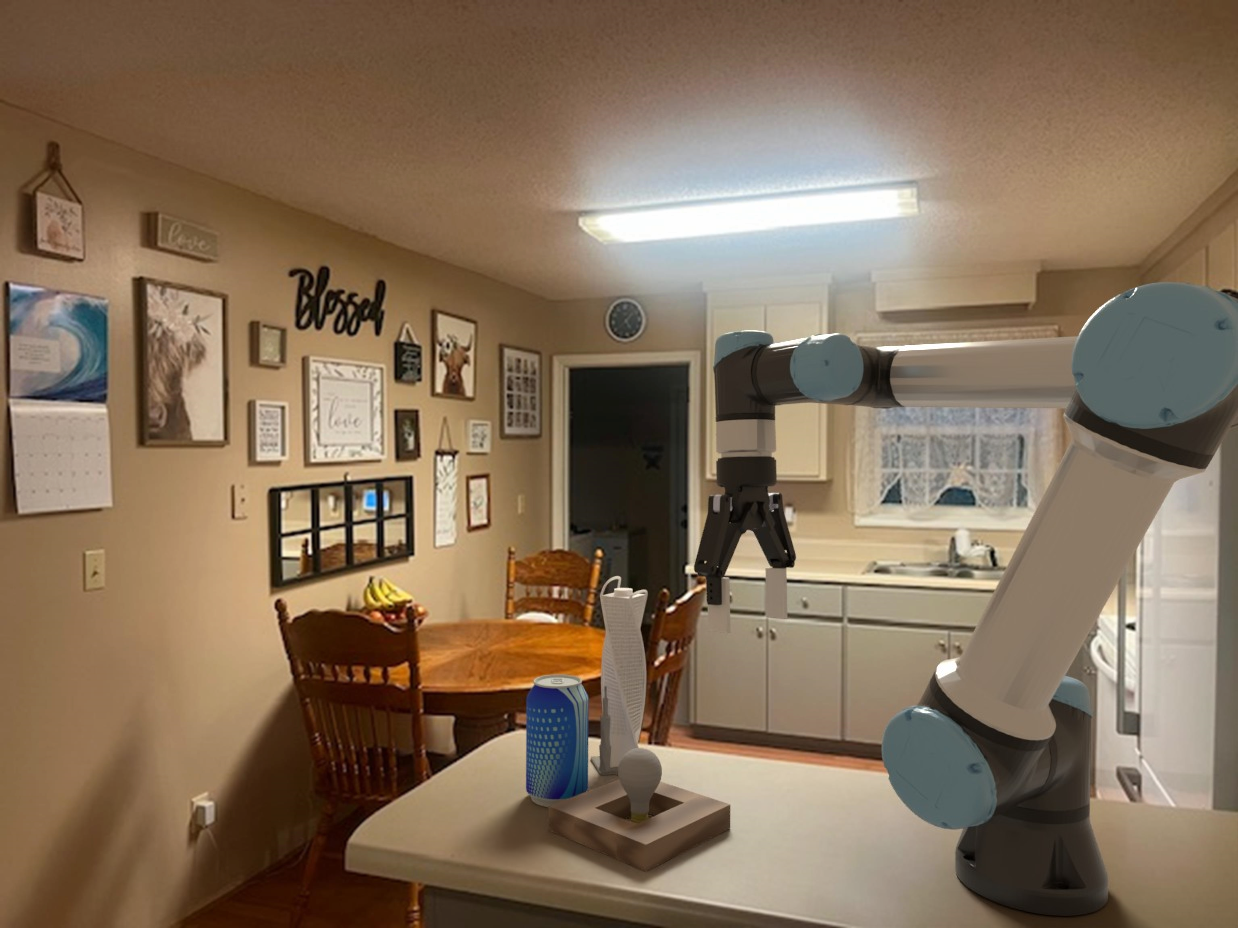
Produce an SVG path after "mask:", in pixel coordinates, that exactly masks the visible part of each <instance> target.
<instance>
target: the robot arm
mask: <svg viewBox="0 0 1238 928" xmlns="http://www.w3.org/2000/svg"><path fill="white" fill-rule="evenodd" d="M713 356H714V358H713V359H714V360H713V366H712V368H713V369H712V370H713V375H714V376H713V377H714V399H715V400H714V401H715V402H714V403H715V428H716V429H715V437H716V438H715V441H716V442H715V444H716V445H715V447H716V448H715V450H716V453H717V454H718V455H719V454H720V457H718V458H717V460H716V462H715V465H716V467H715V468H716V470H715V471H716V473H715V474H716V485H717V486H718V487H719V488H723V489H724V494H710V495H709V496H708V498H707V500H708V501H707V502H708V503H707V504H708V505H707V514H706V519H705V523H704V526H703V531H702V534H701V538H700V542H699V545H698V550H697V554H696V557H695V559H694V560H695V561H694V563H693V564H694V565H693V570H694V573H696V574H697V576H698V577H700V578H701V577H702V578H705V585H706V586H705V589H706V590H705V591H706V592H705V593H706V603H707V632H711V633H720V634H721V633H722V634H731V597H730V596H731V593H730V577H725V575H726V573H727V571H728V568H729V566H730V563H731V561H732V559H733V556H734V554H735V551H736V549H737V546H738V544H739V542H740V540H741V537H742V535H744V534H746V533H747V531H751V532H753V534H754V536H755V538H756V541H757V542H758V545H759V546H760V548H761V551H762V553H763V554H764V556H765V559H766V561H767V562H768V565H769V566H770V567H765V600H766V601H765V604H766V612H765V613H766V614H765V615H766V618H770V619H778V620H779V619H780V620H781V619H782V620H787V619H788V585H787V583H788V581H787V579H788V578H787V576H788V575H787V568H788V569H789V568H790V569H792V568H794V567H795V562H796V561H797V560H796V559H797V554H796V551H795V547H794V543H793V540H792V537H791V533H790V529H789V525H788V522H787V518H786V515H785V511H784V503H783V500H784V499H783V494H782V493H781V492H769V490H768V488H769V487H774V486H775V485H776V484H777V482H778V481H777V478H778V477H777V473H778V472H777V459H775V457H774V456H772V455H773V454H772V453H775V452H776V451H777V436H776V435H777V433H776V406H782V405H794V404H807V403H809V404H811V403H812V404H826V405H840V406H841V405H842V406H858V407H864V408H865V407H867V408H873V409H880V410H881V409H883V410H884V409H885V410H887V409H894V408H975V409H976V408H981V409H982V408H985V409H986V408H987V409H988V408H989V409H990V408H995V409H997V408H998V409H1065V411H1064V413H1063V415H1062V417H1063V419H1064V423H1065V424H1066V427H1067V429H1068V433H1069V434H1070V443H1069V445H1068V446H1067V449H1066V450H1065V453H1064V454H1063V457H1062V459H1061V461H1060V462H1059V464H1058V466H1057V468H1056V470H1055V472H1054V474H1053V476H1052V478H1051V480H1050V482H1049V483H1048V486H1047V487H1046V489H1045V491H1044V494H1043V495H1042V497H1041V500H1040V501H1039V503H1038V505H1037V507H1036V509H1035V511H1034V513H1033V515H1032V517H1031V519H1030V521H1029V523H1028V525H1027V527H1026V529H1025V531H1024V533H1023V535H1022V536H1021V539H1020V540H1019V542H1018V543H1017V546H1016V548H1015V550H1014V552H1013V554H1012V556H1011V557H1010V560H1009V562H1008V564H1007V566H1006V568H1005V570H1004V571H1003V574H1002V576H1001V577H1000V579H999V582H998V583H997V586H996V587H995V589H994V591H993V593H992V595H991V597H990V599H989V601H988V603H987V605H986V607H985V609H984V611H983V613H982V614H981V616H980V618H979V620H978V623H977V625H976V627H975V628H974V630H973V632H972V634H971V636H970V638H969V640H968V642H967V644H966V646H965V648H964V650H963V652H962V654H961V656H958V657H955V658H949V659H944V660H942V661H941V662H940V663H939V664H938V665H937V667H936V668H935V670H934V672H933V674H932V676H931V678H930V680H929V681H928V684H927V686H926V688H925V690H924V691H923V694H922V696H921V698H920V699H919V701H918V703H917V704H916V705H911V706H907V707H904V708H902V709H901V711H900V712H897V713H896V714H895V715H894V716H893V717H892V718H891V719H890V720H889V721H888V722H887V725H886V726H885V729H884V731H883V735H882V737H881V757H882V763H883V767H884V768H885V769H886V771H887V774H888V780H889V782H890V785H891V788H892V789H893V791H894V792H895V793H896V795H897V796H898V798H899V799H900V800H901V802H902V803H903V804H904V805H905V807H907V808H908V809H909V811H910V812H912V813H913V814H914V815H916V816H917V817H918V818H920V819H921V820H922V821H924V822H926V823H927V824H930V825H932V826H934V827H937V828H940V829H944V830H955V831H956V830H961V833H960V835H959V838H958V841H957V843H956V846H955V851H954V852H955V855H954V856H955V858H954V859H955V861H954V862H955V863H954V868H955V874H956V876H957V877H958V879H959V881H961V882H962V884H964V885H965V886H966V887H967V888H968V889H970V890H971V891H972V892H975V893H976V894H977V895H979V896H981V897H984V898H985V899H988V900H990V901H992V902H994V903H997V904H1000V905H1002V906H1005V907H1009V908H1012V909H1015V910H1019V911H1023V912H1027V913H1028V912H1029V913H1034V914H1038V915H1045V916H1047V915H1048V916H1061V917H1064V916H1065V917H1066V916H1067V917H1069V916H1082V915H1086V914H1090V913H1094V912H1098V911H1099V910H1101V909H1102V908H1103V907H1105V905H1106V904H1107V903H1108V899H1109V876H1108V872H1107V868H1106V866H1105V865H1106V864H1105V862H1104V860H1103V857H1102V853H1101V851H1100V847H1099V845H1098V842H1097V838H1096V836H1095V833H1094V829H1093V827H1092V824H1091V815H1090V813H1091V811H1090V810H1091V758H1092V757H1091V756H1092V754H1091V752H1092V751H1091V749H1092V744H1091V743H1092V741H1091V740H1092V719H1093V711H1092V710H1091V694H1090V690H1089V688H1088V686H1087V685H1086V684H1085V682H1082V681H1081V680H1079V679H1077V678H1074V677H1072V676H1067V675H1066V674H1067V673H1068V671H1069V669H1070V667H1071V666H1072V665H1073V663H1074V660H1075V659H1076V657H1077V655H1078V653H1079V651H1080V650H1081V648H1082V646H1083V645H1084V643H1085V641H1086V639H1087V638H1088V636H1089V634H1090V633H1091V631H1092V629H1093V627H1094V626H1095V623H1096V622H1097V620H1098V618H1099V616H1100V615H1101V613H1102V611H1103V609H1104V608H1105V606H1106V604H1107V602H1108V601H1109V598H1110V597H1111V595H1112V594H1113V592H1114V590H1115V588H1116V586H1117V584H1118V583H1119V581H1120V579H1121V578H1122V576H1123V574H1124V572H1125V571H1126V569H1127V567H1128V565H1129V563H1130V562H1131V560H1132V558H1133V557H1134V555H1135V552H1136V551H1137V549H1138V547H1139V546H1140V544H1141V542H1142V541H1143V539H1144V536H1145V535H1146V534H1147V532H1148V530H1149V528H1150V526H1151V525H1152V523H1153V521H1154V519H1155V517H1156V515H1157V514H1158V513H1159V511H1160V509H1161V507H1162V505H1163V503H1164V501H1165V500H1166V498H1167V496H1168V494H1169V493H1170V491H1171V489H1172V488H1173V486H1174V484H1175V483H1176V482H1177V481H1180V480H1181V479H1185V478H1189V477H1192V476H1196V475H1198V474H1201V473H1205V472H1206V469H1207V468H1209V467H1208V466H1209V465H1210V464H1211V462H1212V460H1213V458H1214V457H1215V454H1216V453H1217V451H1218V449H1219V448H1220V446H1221V445H1222V443H1223V440H1225V438H1226V436H1227V435H1228V433H1229V431H1230V430H1233V429H1236V428H1238V298H1236V297H1234V296H1231V295H1229V294H1227V293H1224V292H1222V291H1219V290H1216V289H1214V288H1212V287H1210V286H1208V285H1207V286H1204V285H1200V284H1199V285H1198V284H1194V283H1193V284H1192V283H1191V282H1184V283H1183V282H1174V281H1173V282H1172V281H1162V282H1152V283H1148V284H1143V285H1140V286H1137V287H1133V288H1130V289H1128V290H1126V291H1124V292H1122V293H1120V294H1117V295H1116V296H1114V297H1112V298H1111V299H1109V300H1108V301H1106V302H1105V303H1104V304H1103V305H1101V306H1100V307H1099V308H1097V310H1095V311H1094V313H1093V314H1092V315H1091V316H1090V317H1089V318H1088V319H1087V321H1086V322H1085V323H1084V325H1083V327H1082V328H1081V330H1080V332H1079V334H1078V335H1077V336H1076V335H1075V336H1062V337H1061V336H1060V337H1059V336H1057V337H1056V336H1055V337H1044V338H1043V337H1042V338H1038V337H1037V338H1023V339H1005V340H990V341H989V340H987V341H985V340H984V341H971V342H970V341H969V342H950V343H934V344H929V343H928V344H915V345H913V344H912V345H891V346H866V345H858V344H857V343H855V342H854V341H852V340H851V338H850V337H849V336H847V335H846V334H843V333H831V334H822V333H819V334H813V335H811V336H808V337H805V338H799V339H794V340H788V341H783V342H779V343H774V338H773V336H772V334H771V333H769V332H767V331H764V330H740V331H731V332H726V333H724V334H723V333H722V334H721V335H719V337H717V339H716V340H715V344H714V355H713Z"/></svg>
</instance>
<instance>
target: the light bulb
mask: <svg viewBox="0 0 1238 928" xmlns="http://www.w3.org/2000/svg"><path fill="white" fill-rule="evenodd" d="M662 766H663V765H662V764H661V761H660V759H659V757H658V756H657V755H656V754H655V753H654V752H653V751H652V750H650V749H648V748H644V747H639V748H636V749H632V750H630V751H628V752H627V753H625V755H624V756H623V757H622V759H621V760H620V763H619V766H618V774H617V775H618V779H619V780H620V782H621V785H622V786H623V788H624V790H625V792H626V793H627V795H628V797H629V799H630V803H631V816H630V818H631V819H630V822H633V823H636V824H638V823H640V822H642V821H645V820H647V819H649V813H648V812H649V801H650V799H651V797H652V795H653V793H654V792H655V790H656V788H657V787H658V785H659V783H660V782H662V781H661V780H662V774H663V769H662Z"/></svg>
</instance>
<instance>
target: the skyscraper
mask: <svg viewBox="0 0 1238 928" xmlns="http://www.w3.org/2000/svg"><path fill="white" fill-rule="evenodd" d="M615 580H618V581H617V587H616V588H613V589H614V591H613V592H611V593H607V594H604V592H605V589H606V588H607V585H608V584H610V582H612V581H615ZM621 582H622V577H621V576H619V575H616V576H612V577H610V578H609V579H608V580H607V581H606V582H605V583H604V584H603V586H602V589H601V591H600V594H599V599H600V604H601V605H600V606H601V611H602V616H603V622H604V628H605V634H604V639H603V644H602V645H603V646H602V651H601V652H602V653H601V654H602V655H601V664H600V665H601V667H600V670H601V671H600V693H601V705H602V706H601V707H602V715H600V717H599V718H600V719H599V720H600V743H599V745H598V747H599V749H598V751H599V755H597V756H596V755H595V756H590V760H591V762H592V764H593V765H594V767H595V769H596V770H597V772H598V773H599V775H600V776H608V775H610V776H611V775H618V766H619V763H620V760H621V759H622V757H623V756H624V755H625V753H627V752H628V751H630V750H632V749H636V748H640V747H639V740H640V734H641V729H642V725H643V724H642V723H643V718H644V713H645V704H646V694H647V661H646V660H647V659H646V652H645V647H644V646H645V645H644V640H643V635H642V631H641V627H642V623H643V617H644V614H645V609H646V605H647V600H648V596H649V593H648V590H647V589H641V590H636V591H634V592H633V588H631V587H630V588H629V587H621Z"/></svg>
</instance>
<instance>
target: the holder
mask: <svg viewBox="0 0 1238 928" xmlns="http://www.w3.org/2000/svg"><path fill="white" fill-rule="evenodd" d="M648 815H652V817H650V818H649V817H648V819H647V820H645V821H642V822H640V823H638V824H636V823H633V822H631V820H630V821H629V820H627V819H628V818H631V803H630V799H629V797H628V795H627V793H626V792H625V790H624V788H623V786H622V785H621V782H620V780H619V778H617V779H615V780H613V781H609V782H608V783H605V784H603V785H600V786H598V787H595V788H592V789H590V790H589V789H588V790H587V792H584V793H582V794H579V795H576V796H574V797H571V798H568V799H566V800H563V801H561V802H558V803H555V804H553V805H550V806H549V807H548V831H549V832H552V833H554V834H557V835H558V836H561V837H563V838H566V839H568V840H571V841H573V842H575V843H578V844H580V845H583V846H585V847H587V848H590V849H592V850H594V851H597V852H599V853H601V854H603V855H606V856H609V857H611V858H613V859H614V860H615V859H616V860H618V861H620V862H622V863H625V864H627V865H629V866H632V867H634V868H636V869H639V870H642V871H643V872H648V871H650V870H651V869H654V868H656V867H658V866H660V865H661V864H663V863H665V862H667V861H670V860H672V859H673V858H675V857H677V856H679V855H681V854H683V853H685V852H687V851H689V850H691V849H693V848H694V847H697V846H699V845H700V844H703V843H705V842H707V841H709V840H710V839H712V838H715V837H716V836H718V835H720V834H722V833H725V832H726V831H729V830H730V829H731V804H730V803H727V802H724V801H722V800H718V799H714V798H711V797H709V796H706V795H703V794H699V793H697V792H693V791H690V790H687V789H684V788H682V787H678V786H676V785H673V784H669V783H666V782H663V781H660V783H659V785H658V787H657V788H656V790H655V792H654V793H653V795H652V797H651V799H650V801H649V812H648Z"/></svg>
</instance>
